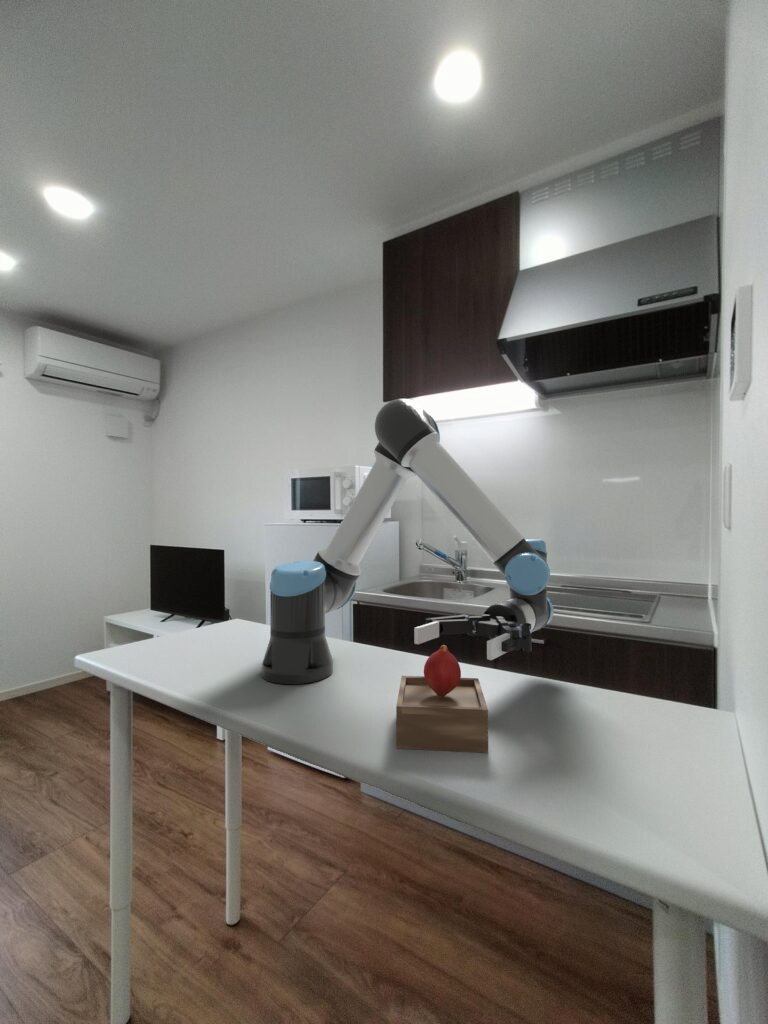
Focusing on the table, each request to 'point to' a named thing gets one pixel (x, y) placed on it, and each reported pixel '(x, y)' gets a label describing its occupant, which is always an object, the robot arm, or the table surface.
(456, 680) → the onion
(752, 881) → the table surface
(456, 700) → the walnut tray
